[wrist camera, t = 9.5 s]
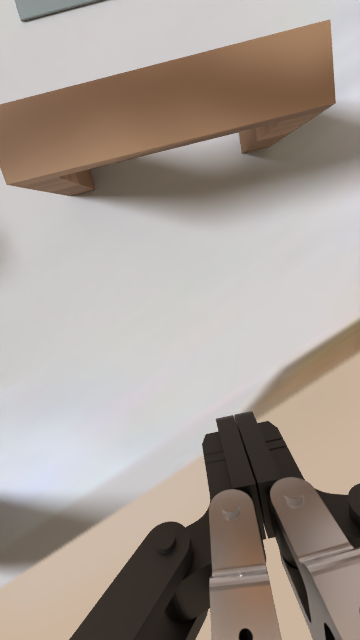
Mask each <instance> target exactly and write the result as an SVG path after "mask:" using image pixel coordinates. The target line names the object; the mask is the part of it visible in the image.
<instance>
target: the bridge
mask: <svg viewBox="0 0 360 640" xmlns="http://www.w3.org/2000/svg"><path fill="white" fill-rule="evenodd" d="M335 103H336V101H335V86H334V70H333V54H332V39H331V23H330V20H326V21H323V22H319V23H315V24H311V25H307V26H303V27H299V28H295V29H292V30H288V31H284V32H280V33H276V34H272V35H268V36H264V37H261V38H257V39H253V40H249V41H245V42H241V43H237V44H233V45H229V46H226V47H222V48H218V49H214V50H210V51H206V52H202V53H198V54H195V55H191V56H187V57H183V58H179V59H175V60H171V61H167V62H163V63H160V64H156V65H152V66H148V67H144V68H140V69H136V70H132V71H129V72H125V73H121V74H117V75H113V76H109V77H105V78H101V79H98V80H94V81H90V82H86V83H82V84H78V85H74V86H70V87H66V88H63V89H59V90H55V91H51V92H47V93H43V94H39V95H35V96H32V97H28V98H24V99H20V100H16V101H12V102H8V103H4V104H0V168H1V171H2V173H3V176H4V179H5V181H6V184H7V185H11V186H17V187H22V188H28V189H33V190H39V191H44V192H50V193H56V194H61V195H67V196H70V195H74V194H79V193H83V192H87V191H91V190H95V188H94V184H93V181H92V177H91V174H90V170H89V169H92V168H96V167H100V166H104V165H108V164H112V163H116V162H120V161H124V160H129V159H133V158H137V157H141V156H145V155H149V154H153V153H157V152H161V151H165V150H169V149H173V148H177V147H181V146H185V145H189V144H193V143H197V142H201V141H205V140H209V139H213V138H217V137H221V136H225V135H229V134H233V133H238V132H239V137H240V143H241V150H242V153H246V152H250V151H254V150H258V149H262V148H266V147H270V146H271V145H273V144H274V143H276V142H277V141H279V140H280V139H282V138H283V137H285V136H286V135H288V134H289V133H291V132H292V131H294V130H295V129H297V128H298V127H300V126H302V125H303V124H305V123H306V122H308V121H309V120H311V119H312V118H314V117H315V116H317V115H318V114H320V113H321V112H323V111H324V110H326V109H327V108H329V107H330V106H332V105H333V104H335Z"/></svg>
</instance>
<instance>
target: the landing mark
mask: <svg viewBox="0 0 360 640" xmlns="http://www.w3.org/2000/svg"><path fill="white" fill-rule="evenodd" d="M97 1H101V0H15V3H16V6H17V10H18V13H19V16H20V19H21V21H26V20H29V19H33V18H37V17H41V16H44V15H48V14H52V13H56V12H59V11H63V10H67V9H71V8H74V7H78V6H82V5H86V4H89V3H93V2H97Z"/></svg>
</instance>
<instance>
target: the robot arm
mask: <svg viewBox="0 0 360 640" xmlns="http://www.w3.org/2000/svg"><path fill="white" fill-rule="evenodd" d="M234 417H235V419H234ZM216 422H217V427H218V431H219V432H215V433H210V434H206V436H205V438H204V441H203V443H202V446H203V453H204V459H205V465H206V472H207V479H208V485H209V491H210V505H209V508H208V510H207V511H206V513H205V514H204V515H203V517H201V518H200V519H199V520H198V521H196V522H195V523H193V524H191V525H189V526H187V527H186V528H185V527H184V526H183V525H181V524H180V523H177V522H165V523H162V524H160V525H158V526H156V527H155V528H154V529H152V531H151V532H150V533H149V534H148V535H147V537H146V538H145V539H144V541H143V542H142V543H141V545H140V546H139V547H138V549H137V550H136V551H135V553H134V554H133V555H132V557H131V558H130V559H129V561H128V562H127V563H126V565H125V566H124V567H123V569H122V570H121V572H120V573H119V574H118V575H117V577H116V578H115V579H114V581H113V582H112V583H111V585H110V586H109V588H108V589H107V590H106V591H105V593H104V594H103V595H102V597H101V598H100V599H99V601H98V602H97V604H96V605H95V607H94V608H93V609H92V610H91V611H90V613H89V614H88V616H87V617H86V618H85V620H84V621H83V622H82V624H81V625H80V626H79V628H78V629H77V630H76V632H75V633H74V634H73V636H72V637H71V638H70V640H195V639H196V637H197V635H198V633H199V631H200V629H201V627H202V625H203V623H204V620H205V618H206V616H207V612H208V609H209V608H210V612H211V633H212V634H211V635H212V640H282V639H281V634H280V629H279V624H278V619H277V615H276V610H275V605H274V600H273V595H272V591H271V586H270V581H269V576H268V572H267V567H266V555H265V550H264V545H263V539H266V535H265V530H266V533H267V536H268V538H273V537H276V540H277V543H278V546H279V549H280V555H281V561H282V564H283V566H284V569H285V571H286V574H287V576H288V578H289V581H290V583H291V586H292V588H293V591H294V593H295V596H296V598H297V601H298V603H299V605H300V608H301V610H302V613H303V615H304V618H305V620H306V623H307V625H308V627H309V630H310V633H311V636H312V639H313V640H360V484H357V485H355V486H354V487H352V488H351V490H350V491H349V494H348V495H339V494H330V493H325V492H322V491H319V490H317V489H315V488H314V487H313V486H312V485H311V484H310V483H308V482H307V481H305V479H304V478H303V476H302V474H301V472H300V471H299V468H298V467H297V464H296V463H295V461H294V459H293V457H292V455H291V453H290V451H289V449H288V448H287V445H286V443H285V441H284V440H283V437H282V436H281V434H280V432H279V430H278V428H277V427H275V426H274V425H273V424H271V423H270V422H269V421H266V422H261V423H257V421H256V419H255V417H254V414H253V412H252V411H250V412H245V413H241V414H236V415H234V416H233V415H232V416H227V417H222V418H218V419H216ZM263 523H264V525H263ZM264 526H265V530H264Z"/></svg>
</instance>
